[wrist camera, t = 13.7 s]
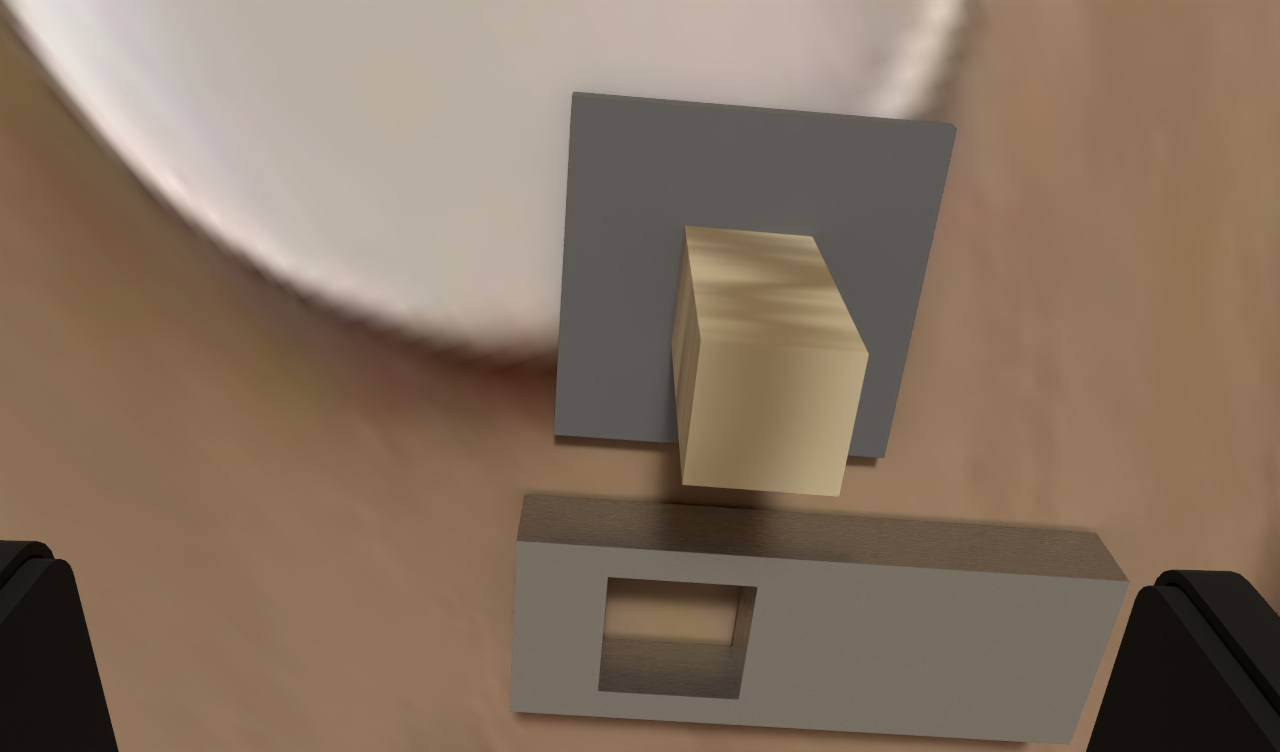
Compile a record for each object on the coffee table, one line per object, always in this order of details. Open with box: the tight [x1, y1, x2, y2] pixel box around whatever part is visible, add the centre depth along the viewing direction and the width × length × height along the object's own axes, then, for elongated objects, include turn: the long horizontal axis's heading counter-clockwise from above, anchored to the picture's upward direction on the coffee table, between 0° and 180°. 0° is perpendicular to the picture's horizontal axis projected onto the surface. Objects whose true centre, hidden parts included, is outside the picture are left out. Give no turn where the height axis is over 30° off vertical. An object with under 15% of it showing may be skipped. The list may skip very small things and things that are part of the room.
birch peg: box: [671, 226, 869, 496], centre depth 30 cm, size 4×4×9 cm
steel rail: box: [510, 494, 1130, 745], centre depth 40 cm, size 22×8×3 cm, turn 85°
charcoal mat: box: [554, 92, 957, 458], centre depth 35 cm, size 12×12×1 cm
